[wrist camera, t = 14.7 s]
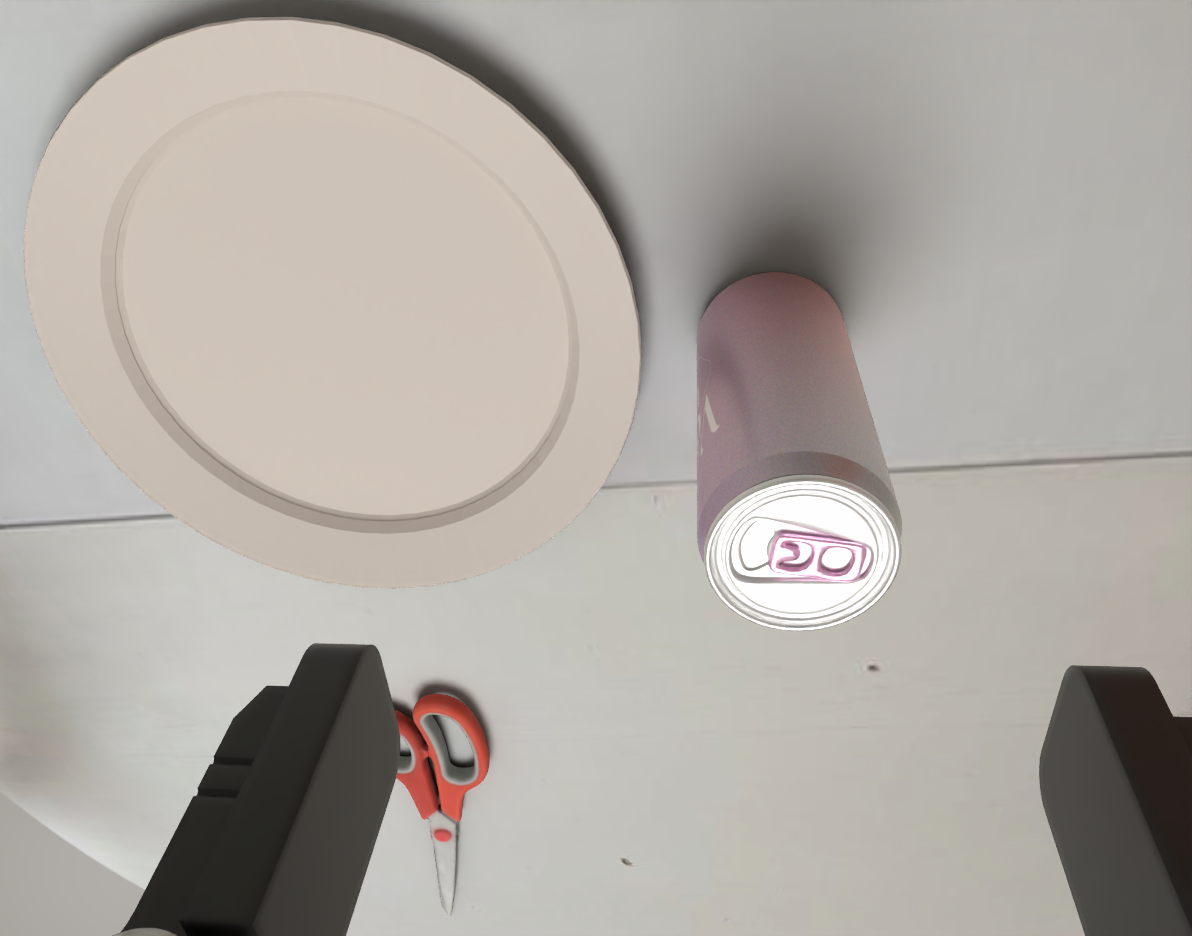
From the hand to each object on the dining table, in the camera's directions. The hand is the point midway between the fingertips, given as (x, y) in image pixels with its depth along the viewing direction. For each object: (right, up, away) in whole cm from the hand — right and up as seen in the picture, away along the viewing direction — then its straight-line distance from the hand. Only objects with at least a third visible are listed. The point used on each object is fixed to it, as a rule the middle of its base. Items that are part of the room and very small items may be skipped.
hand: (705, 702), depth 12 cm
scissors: (-10, -18, +48) cm, 52 cm away
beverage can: (+6, +9, +29) cm, 31 cm away
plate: (-12, +9, +31) cm, 34 cm away
